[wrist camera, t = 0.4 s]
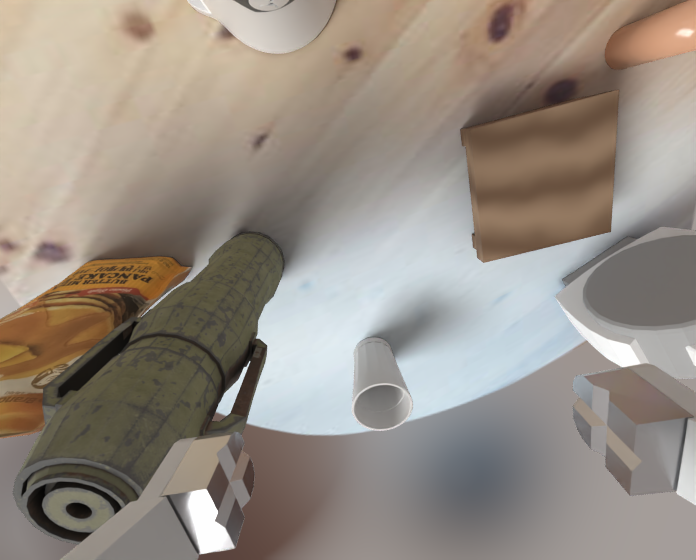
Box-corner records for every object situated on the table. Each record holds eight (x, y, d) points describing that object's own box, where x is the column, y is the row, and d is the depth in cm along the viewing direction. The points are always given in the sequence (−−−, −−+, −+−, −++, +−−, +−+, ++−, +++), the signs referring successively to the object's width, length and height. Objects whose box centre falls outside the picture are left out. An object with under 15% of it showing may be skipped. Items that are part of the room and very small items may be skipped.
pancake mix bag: (208, 294, 49) (67, 461, 23) (79, 301, 49) (-211, 479, 23) (199, 251, 46) (27, 385, 21) (62, 258, 46) (-287, 403, 20)
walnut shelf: (452, 131, 42) (470, 129, 36) (580, 97, 41) (619, 89, 35) (466, 249, 48) (483, 262, 42) (578, 221, 47) (610, 231, 41)
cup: (394, 329, 52) (410, 378, 41) (399, 369, 55) (415, 426, 44) (344, 336, 53) (347, 388, 42) (352, 376, 56) (356, 434, 45)
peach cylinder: (605, 31, 38) (692, -5, 29) (644, 20, 38) (744, -20, 29) (604, 74, 40) (685, 53, 31) (641, 64, 40) (734, 39, 30)
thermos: (293, 293, 49) (214, 575, 17) (213, 285, 48) (-34, 566, 16) (298, 236, 46) (210, 451, 14) (211, 226, 45) (-101, 431, 13)
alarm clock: (559, 323, 53) (680, 420, 34) (534, 286, 50) (652, 369, 32) (668, 254, 49) (873, 321, 30) (648, 210, 47) (858, 254, 28)
